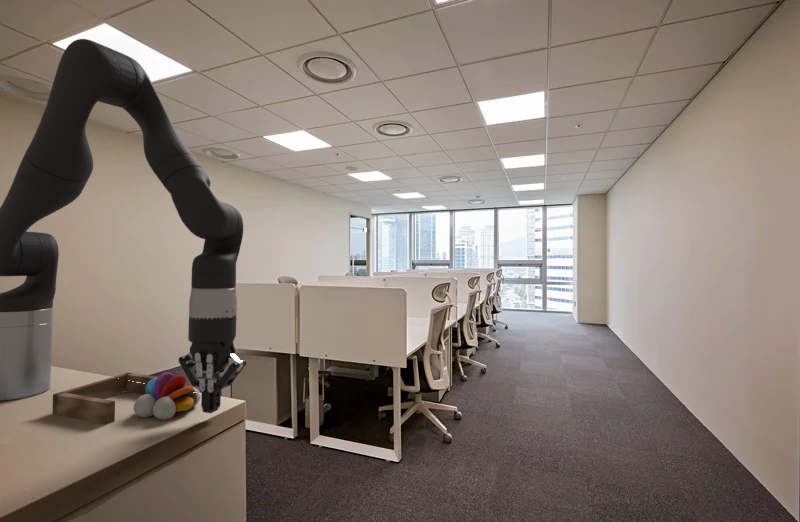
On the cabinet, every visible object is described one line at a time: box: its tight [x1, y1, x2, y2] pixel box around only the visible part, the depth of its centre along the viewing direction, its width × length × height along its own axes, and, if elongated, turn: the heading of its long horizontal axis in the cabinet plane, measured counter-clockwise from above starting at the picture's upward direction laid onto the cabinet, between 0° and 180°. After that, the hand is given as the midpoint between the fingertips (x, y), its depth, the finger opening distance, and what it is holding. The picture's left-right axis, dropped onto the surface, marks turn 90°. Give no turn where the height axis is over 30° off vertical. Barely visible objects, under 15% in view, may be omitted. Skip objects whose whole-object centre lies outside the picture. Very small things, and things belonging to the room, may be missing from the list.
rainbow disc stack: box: [133, 371, 201, 421], centre depth 67 cm, size 8×10×7 cm
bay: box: [51, 372, 159, 425], centre depth 69 cm, size 13×14×4 cm
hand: (210, 411), depth 64 cm, fingers closed
